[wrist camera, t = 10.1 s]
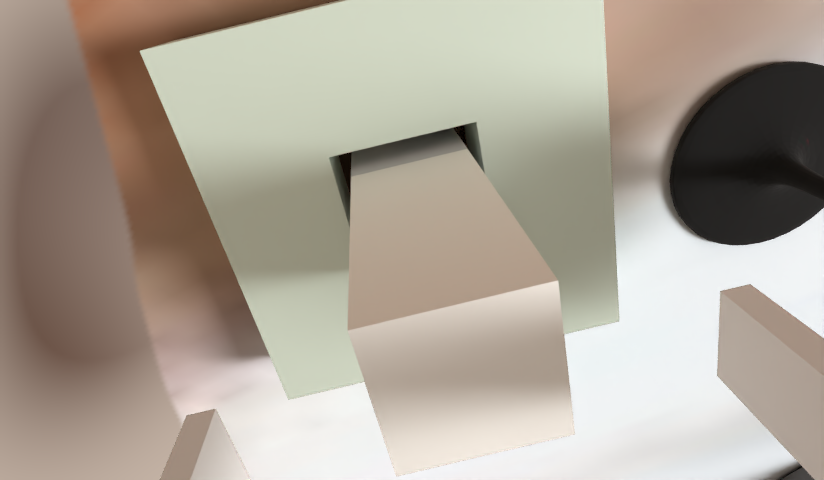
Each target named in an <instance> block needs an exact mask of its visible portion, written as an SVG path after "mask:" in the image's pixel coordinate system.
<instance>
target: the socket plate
mask: <svg viewBox="0 0 824 480" xmlns="http://www.w3.org/2000/svg"><path fill="white" fill-rule="evenodd" d="M140 53H141V56H142V58H143V60H144V63H145V65H146V67H147V70H148V72H149V74H150V77H151V79H152V81H153V84H154V86H155V88H156V91H157V93H158V95H159V98H160V100H161V102H162V105H163V107H164V110H165V112H166V114H167V117H168V119H169V121H170V124H171V126H172V128H173V131H174V133H175V135H176V138H177V140H178V142H179V145H180V147H181V149H182V152H183V154H184V156H185V159H186V161H187V163H188V166H189V168H190V170H191V173H192V175H193V177H194V180H195V182H196V184H197V187H198V189H199V191H200V194H201V196H202V198H203V201H204V203H205V206H206V208H207V210H208V213H209V215H210V217H211V220H212V222H213V224H214V227H215V229H216V231H217V234H218V236H219V238H220V241H221V243H222V245H223V248H224V250H225V252H226V255H227V257H228V259H229V262H230V264H231V266H232V269H233V271H234V273H235V276H236V278H237V280H238V283H239V285H240V287H241V290H242V292H243V294H244V297H245V299H246V302H247V304H248V306H249V309H250V311H251V313H252V316H253V318H254V320H255V323H256V325H257V327H258V330H259V332H260V334H261V337H262V339H263V341H264V344H265V346H266V348H267V351H268V353H269V355H270V358H271V360H272V362H273V365H274V367H275V369H276V372H277V374H278V376H279V379H280V381H281V383H282V386H283V388H284V390H285V393H286V395H287V398H288V400H290V399H294V398H299V397H303V396H307V395H311V394H315V393H320V392H324V391H328V390H332V389H336V388H341V387H345V386H349V385H353V384H357V383H362V382H365V381H364V378H363V375H362V372H361V369H360V366H359V363H358V360H357V357H356V354H355V351H354V348H353V345H352V342H351V339H350V336H349V333H348V288H349V244H350V199H351V197H350V193H349V190H348V186H347V183H346V180H345V176H344V173H343V169H342V166H341V162H340V159H339V155H341V154H345V153H349V152H353V151H357V150H362V149H366V148H370V147H374V146H378V145H382V144H386V143H391V142H395V141H399V140H403V139H407V138H411V137H415V136H420V135H424V134H428V133H432V132H436V131H440V130H444V129H449V128H453V127H457V126H461V125H464V130H465V135H466V141H467V147H468V150H469V152H470V153H471V154H472V156H473V157H474V159H475V160H476V162H477V163H478V165H479V166H480V168H481V169H482V170H483V172H484V173H485V175H486V176H487V178H488V179H489V181H490V182H491V184H492V185H493V186H494V188H495V189H496V191H497V192H498V194H499V195H500V197H501V198H502V199H503V201H504V202H505V204H506V205H507V207H508V208H509V210H510V211H511V213H512V214H513V215H514V217H515V218H516V220H517V221H518V223H519V224H520V226H521V227H522V229H523V230H524V231H525V233H526V234H527V236H528V237H529V239H530V240H531V242H532V243H533V245H534V246H535V247H536V249H537V250H538V252H539V253H540V255H541V256H542V258H543V259H544V260H545V262H546V263H547V265H548V266H549V268H550V269H551V271H552V272H553V274H554V275H555V276H556V278H557V279H558V283H559V292H560V302H561V311H562V320H563V329H564V334H568V333H572V332H576V331H580V330H585V329H589V328H593V327H597V326H601V325H606V324H610V323H614V322H618V321H619V305H618V285H617V265H616V245H615V225H614V205H613V185H612V164H611V144H610V124H609V104H608V84H607V64H606V44H605V24H604V4H603V0H338V1H334V2H330V3H326V4H322V5H318V6H314V7H309V8H305V9H301V10H297V11H293V12H289V13H285V14H281V15H277V16H273V17H268V18H264V19H260V20H256V21H252V22H248V23H244V24H240V25H236V26H231V27H227V28H223V29H219V30H215V31H211V32H207V33H203V34H199V35H195V36H190V37H186V38H182V39H178V40H174V41H170V42H167V43H164V44H160V45H157V46H154V47H151V48H147V49H144V50H141V51H140Z"/></svg>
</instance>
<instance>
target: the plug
mask: <svg viewBox="0 0 824 480" xmlns="http://www.w3.org/2000/svg"><path fill="white" fill-rule="evenodd" d="M348 333H349V336H350V339H351V342H352V345H353V348H354V351H355V354H356V357H357V360H358V363H359V366H360V369H361V372H362V375H363V378H364V381H365V384H366V387H367V390H368V393H369V396H370V399H371V402H372V405H373V408H374V411H375V414H376V417H377V420H378V423H379V426H380V429H381V432H382V435H383V438H384V441H385V444H386V447H387V450H388V453H389V456H390V459H391V462H392V465H393V468H394V471H395V474H396V476H401V475H405V474H409V473H413V472H418V471H422V470H426V469H430V468H435V467H439V466H443V465H447V464H451V463H456V462H460V461H464V460H468V459H473V458H477V457H481V456H485V455H490V454H494V453H498V452H502V451H506V450H511V449H515V448H519V447H523V446H528V445H532V444H536V443H540V442H545V441H549V440H553V439H557V438H561V437H566V436H570V435H574V434H575V431H574V421H573V412H572V403H571V394H570V385H569V375H568V366H567V357H566V348H565V339H564V329H563V320H562V311H561V302H560V292H559V283H558V279H557V278H556V276H555V275H554V274H553V272H552V271H551V269H550V268H549V266H548V265H547V263H546V262H545V260H544V259H543V258H542V256H541V255H540V253H539V252H538V250H537V249H536V247H535V246H534V245H533V243H532V242H531V240H530V239H529V237H528V236H527V234H526V233H525V231H524V230H523V229H522V227H521V226H520V224H519V223H518V221H517V220H516V218H515V217H514V215H513V214H512V213H511V211H510V210H509V208H508V207H507V205H506V204H505V202H504V201H503V199H502V198H501V197H500V195H499V194H498V192H497V191H496V189H495V188H494V186H493V185H492V184H491V182H490V181H489V179H488V178H487V176H486V175H485V173H484V172H483V170H482V169H481V168H480V166H479V165H478V163H477V162H476V160H475V159H474V157H473V156H472V154H471V153H470V152H469V150H468V149H467V147H466V146H465V144H464V143H463V141H462V140H461V138H460V137H459V136H458V134H457V133H456V131H455V130H454V128H449V129H444V130H440V131H436V132H432V133H428V134H424V135H420V136H415V137H411V138H407V139H403V140H399V141H395V142H391V143H386V144H382V145H378V146H374V147H370V148H366V149H362V150H357V151H353V152H352V154H351V199H350V244H349V288H348Z"/></svg>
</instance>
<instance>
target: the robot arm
mask: <svg viewBox="0 0 824 480" xmlns="http://www.w3.org/2000/svg"><path fill="white" fill-rule="evenodd" d="M717 376H718V377H719V378H720V379H721V380H722V381H723V382H724V384H725V385H726V386H727V387H728V388H729V389H730V390H731V391H732V392H733V393H734V394H735V395H736V396H737V397H738V398H739V400H740V401H741V402H742V403H743V404H744V405H745V406H746V407H747V408H748V409H749V410H750V411H751V412H752V413H753V414H754V416H755V417H756V418H757V419H758V420H759V421H760V422H761V423H762V424H763V425H764V426H765V427H766V428H767V429H768V430H769V432H770V433H771V434H772V435H773V436H774V437H775V438H776V439H777V440H778V441H779V442H780V443H781V444H782V445H783V446H784V448H785V449H786V450H787V451H788V452H789V453H790V454H791V455H792V456H793V457H794V458H795V459H796V460H797V461H798V462H799V464H800V465H801V466H802V468H800V469H798V470H796V471H794V472H793V473H791V474H789V475H787V476H786V477H784V478H783V479H781V480H824V338H822V337H821V336H820V335H818V334H817V333H816V332H814V331H813V330H812V329H810V328H809V327H807V326H806V325H805V324H803V323H802V322H801V321H799V320H798V319H797V318H795V317H794V316H793V315H791V314H790V313H789V312H787V311H786V310H784V309H783V308H782V307H780V306H779V305H778V304H776V303H775V302H774V301H772V300H771V299H770V298H768V297H767V296H766V295H764V294H763V293H761V292H760V291H759V290H757V289H756V288H755V287H753V286H752V285H751V284H749V285H745V286H740V287H736V288H732V289H728V290H723V291H720V314H719V341H718V368H717ZM160 480H251V479H250V477H249V475H248V473H247V471H246V469H245V467H244V465H243V463H242V460H241V458H240V456H239V454H238V452H237V450H236V448H235V446H234V444H233V442H232V440H231V438H230V436H229V434H228V432H227V430H226V428H225V426H224V424H223V422H222V420H221V418H220V416H219V414H218V412H217V410H216V409H213V410H208V411H204V412H200V413H195V414H191V415H187V416H186V419H185V421H184V423H183V426H182V428H181V430H180V433H179V435H178V438H177V440H176V442H175V445H174V447H173V449H172V452H171V454H170V457H169V459H168V461H167V464H166V466H165V468H164V471H163V473H162V476H161V478H160Z"/></svg>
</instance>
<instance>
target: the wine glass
mask: <svg viewBox="0 0 824 480" xmlns="http://www.w3.org/2000/svg"><path fill="white" fill-rule="evenodd" d="M670 188H671V195H672V199H673V203H674V206H675V208H676V210H677V212H678V214H679V216H680V217H681V219H682V220H683V221H684V222H685V224H686V225H687V226H688V227H690V228H691V229H692V230H693V231H694V232H696V233H697V234H698V235H700V236H702V237H704V238H706V239H707V240H710V241H713V242H716V243H720V244H727V245H748V244H755V243H760V242H764V241H767V240H771V239H774V238H776V237H779V236H781V235H784V234H786V233H788V232H790V231H792V230H793V229H795V228H797V227H799V226H801V225H802V224H803V223H805V222H806V221H808V220H809V219H811V218H812V217H813V216H815V215H816V214H817V213H818V212H819V211H820V210H821V209H823V208H824V66H823V65H818V64H813V63H808V62H783V63H776V64H771V65H768V66H765V67H762V68H759V69H756V70H754V71H752V72H749V73H747V74H745V75H743V76H741V77H739V78H738V79H736V80H735V81H733V82H731V83H730V84H728V85H727V86H725V87H724V88H723V89H722V90H720V91H719V92H718V93H717V94H715V95H714V96H713V97H712V98H711V99H710V100H709V101H708V102H707V103H706V104H705V105H704V106H703V107H702V108H701V109H700V110H699V112H698V113H697V114H696V116H695V117H694V118H693V119H692V121H691V122H690V123H689V125H688V127H687V129H686V130H685V132H684V134H683V136H682V137H681V139H680V142H679V144H678V147H677V149H676V151H675V154H674V158H673V162H672V166H671V174H670Z"/></svg>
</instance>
